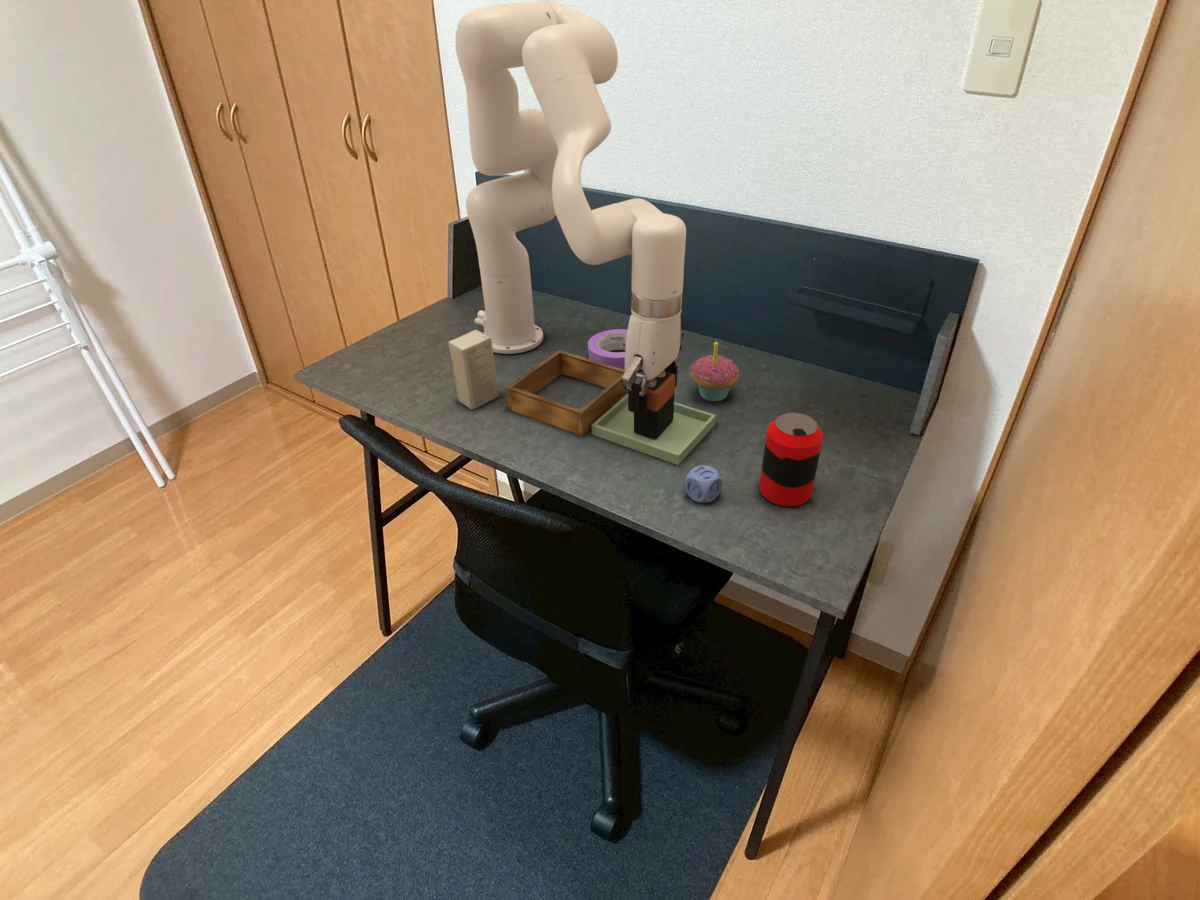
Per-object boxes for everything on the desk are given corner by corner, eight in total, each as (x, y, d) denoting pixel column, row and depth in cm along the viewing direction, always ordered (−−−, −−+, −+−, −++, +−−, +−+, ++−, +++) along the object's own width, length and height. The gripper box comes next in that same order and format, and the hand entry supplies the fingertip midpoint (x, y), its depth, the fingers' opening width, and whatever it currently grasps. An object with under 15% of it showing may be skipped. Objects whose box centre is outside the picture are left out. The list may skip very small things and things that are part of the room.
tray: (591, 434, 119) (591, 425, 118) (632, 398, 128) (632, 388, 127) (678, 465, 112) (678, 455, 111) (715, 424, 121) (716, 415, 120)
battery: (632, 433, 119) (632, 381, 113) (651, 413, 123) (652, 362, 117) (656, 441, 117) (657, 388, 111) (674, 420, 121) (676, 368, 115)
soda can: (764, 508, 103) (774, 440, 96) (754, 475, 110) (763, 409, 102) (817, 507, 103) (831, 439, 96) (804, 474, 109) (817, 408, 102)
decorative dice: (701, 482, 109) (702, 461, 106) (722, 494, 106) (724, 473, 104) (683, 494, 106) (684, 473, 104) (704, 507, 104) (705, 485, 102)
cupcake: (735, 409, 124) (741, 347, 117) (686, 404, 126) (689, 343, 119) (737, 383, 131) (744, 324, 124) (691, 380, 133) (694, 320, 126)
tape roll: (576, 365, 138) (575, 347, 136) (609, 340, 146) (609, 323, 144) (628, 381, 133) (628, 363, 131) (659, 355, 141) (660, 337, 138)
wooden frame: (508, 409, 126) (505, 387, 123) (560, 371, 137) (558, 349, 134) (582, 436, 119) (581, 413, 116) (630, 393, 130) (630, 371, 127)
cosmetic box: (485, 388, 132) (476, 328, 125) (500, 397, 129) (492, 336, 122) (456, 401, 129) (446, 340, 121) (471, 411, 126) (462, 349, 119)
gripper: (662, 275, 114) (658, 369, 124) (603, 317, 103) (604, 417, 113) (705, 285, 111) (697, 381, 121) (649, 330, 99) (646, 431, 110)
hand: (652, 398), depth 117 cm, fingers open, 9 cm apart
